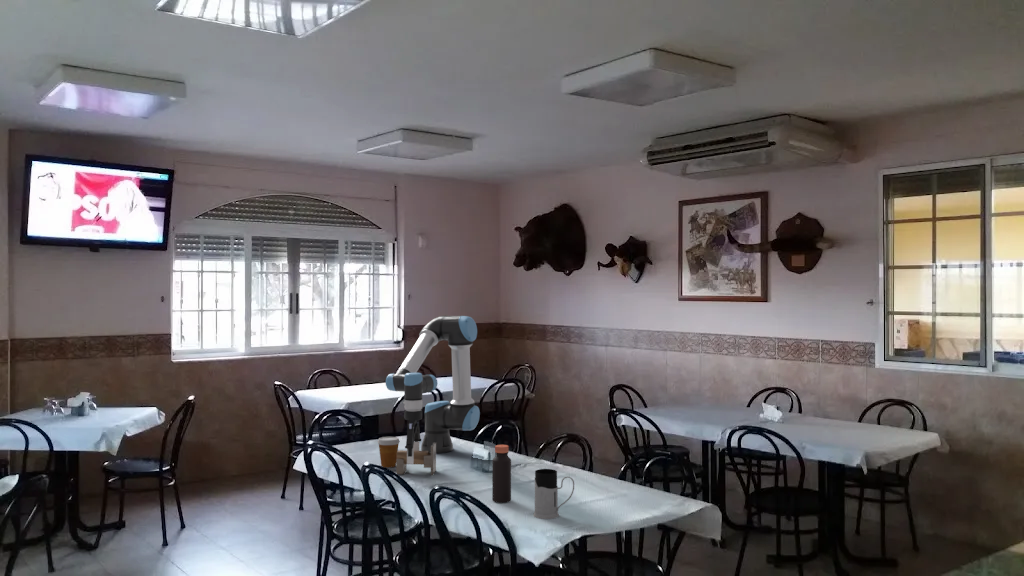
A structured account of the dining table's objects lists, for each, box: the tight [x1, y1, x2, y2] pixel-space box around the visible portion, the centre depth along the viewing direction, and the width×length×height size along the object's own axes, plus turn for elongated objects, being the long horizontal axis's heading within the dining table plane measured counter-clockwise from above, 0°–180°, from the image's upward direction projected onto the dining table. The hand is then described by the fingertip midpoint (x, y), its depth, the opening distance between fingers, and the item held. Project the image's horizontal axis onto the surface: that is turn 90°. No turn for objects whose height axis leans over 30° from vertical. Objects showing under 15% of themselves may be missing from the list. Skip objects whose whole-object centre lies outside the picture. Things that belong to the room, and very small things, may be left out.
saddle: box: [395, 459, 408, 476], centre depth 329 cm, size 7×3×6 cm, turn 177°
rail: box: [397, 449, 429, 466], centre depth 328 cm, size 4×13×5 cm, turn 86°
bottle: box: [491, 444, 512, 504], centre depth 285 cm, size 7×7×20 cm
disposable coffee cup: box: [377, 436, 400, 468], centre depth 341 cm, size 10×10×12 cm
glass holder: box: [532, 468, 575, 520], centre depth 266 cm, size 9×14×15 cm, turn 73°
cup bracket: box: [423, 443, 437, 476], centre depth 328 cm, size 8×4×12 cm, turn 177°
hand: (413, 460), depth 328 cm, fingers open, 13 cm apart
